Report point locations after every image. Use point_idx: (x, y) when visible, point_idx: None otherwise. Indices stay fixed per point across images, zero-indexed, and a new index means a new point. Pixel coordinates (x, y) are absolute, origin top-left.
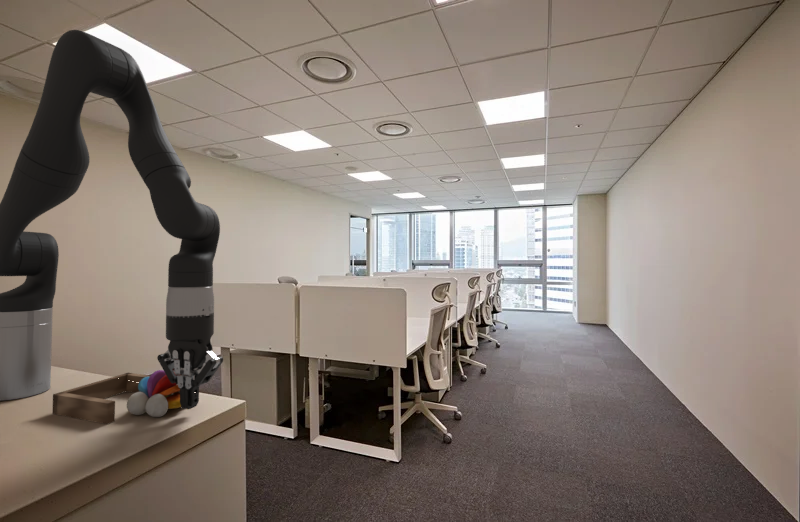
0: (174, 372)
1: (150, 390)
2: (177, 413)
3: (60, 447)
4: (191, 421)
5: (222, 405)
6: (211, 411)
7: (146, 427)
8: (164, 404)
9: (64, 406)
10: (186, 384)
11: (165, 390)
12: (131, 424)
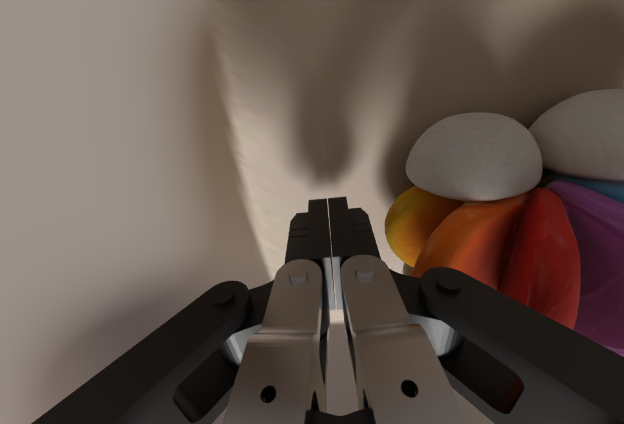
0: None
1: (587, 201)
2: (392, 198)
3: None
4: (276, 171)
5: None
6: None
7: (402, 46)
8: (417, 167)
9: None
10: (311, 279)
11: (475, 227)
12: (505, 36)
